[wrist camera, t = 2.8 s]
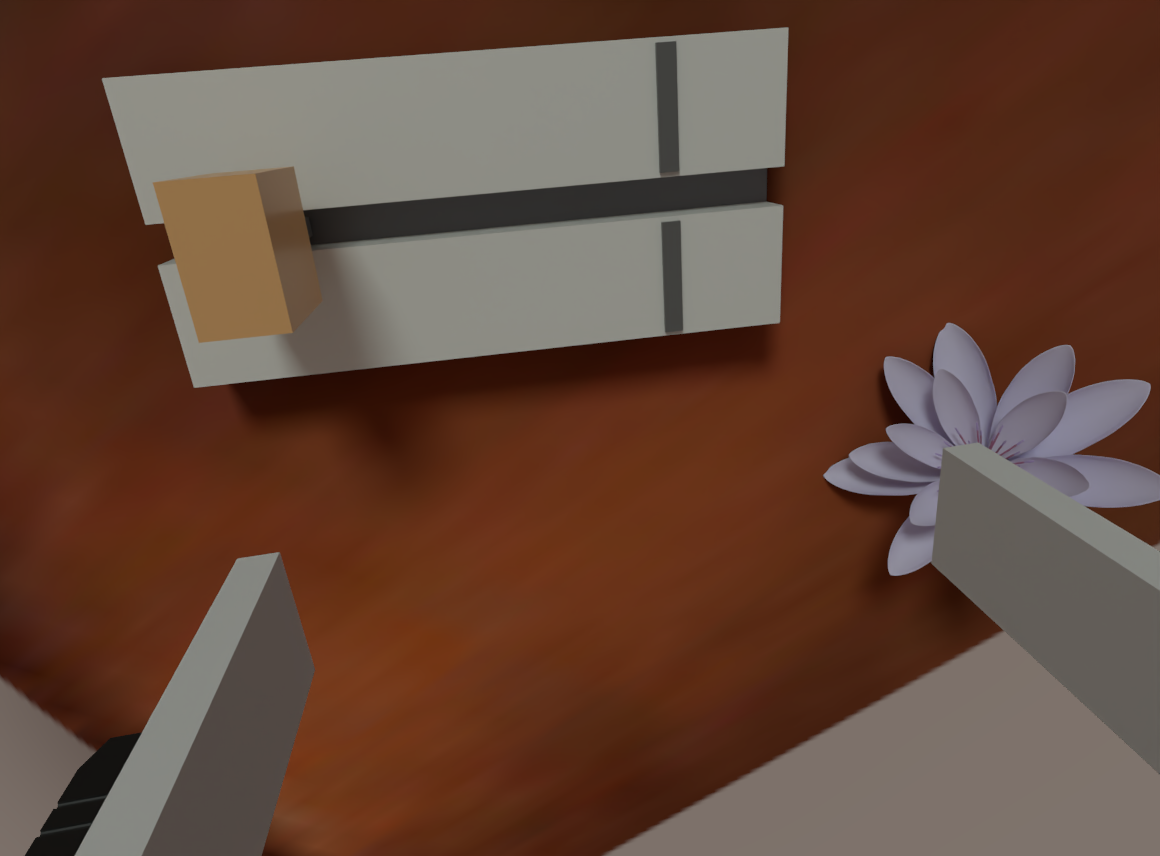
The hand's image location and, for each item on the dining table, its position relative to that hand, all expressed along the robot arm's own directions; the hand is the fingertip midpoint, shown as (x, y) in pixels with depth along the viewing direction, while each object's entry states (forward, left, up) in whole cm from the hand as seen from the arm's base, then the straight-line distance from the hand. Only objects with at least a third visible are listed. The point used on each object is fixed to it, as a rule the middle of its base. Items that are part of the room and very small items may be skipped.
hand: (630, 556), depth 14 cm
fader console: (-5, -2, -22) cm, 23 cm away
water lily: (+8, +21, -23) cm, 32 cm away
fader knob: (-5, -10, -21) cm, 24 cm away
